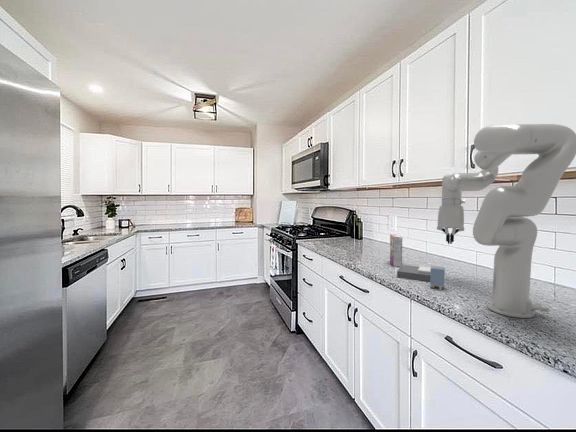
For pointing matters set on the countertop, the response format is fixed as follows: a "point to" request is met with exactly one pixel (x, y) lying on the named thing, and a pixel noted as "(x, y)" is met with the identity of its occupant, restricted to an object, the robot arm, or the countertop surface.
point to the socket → (412, 273)
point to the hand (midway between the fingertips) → (449, 243)
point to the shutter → (425, 269)
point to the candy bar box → (396, 250)
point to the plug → (437, 276)
